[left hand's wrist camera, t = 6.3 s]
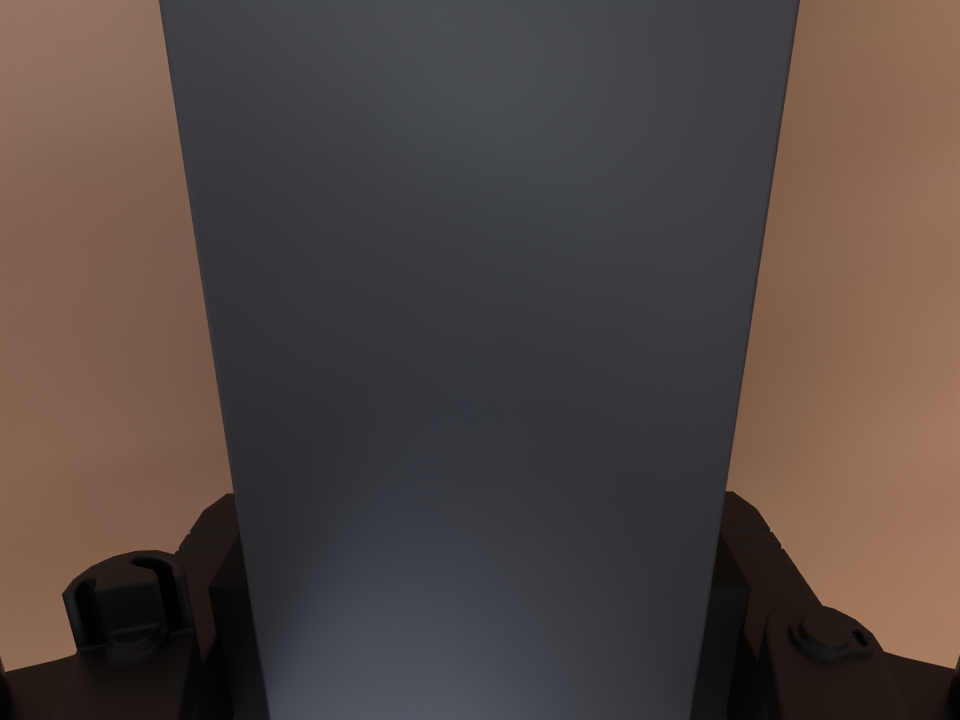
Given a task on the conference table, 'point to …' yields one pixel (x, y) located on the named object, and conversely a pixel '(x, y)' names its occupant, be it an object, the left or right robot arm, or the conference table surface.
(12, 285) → the conference table surface
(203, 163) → the bar
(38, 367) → the conference table surface
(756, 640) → the left robot arm
